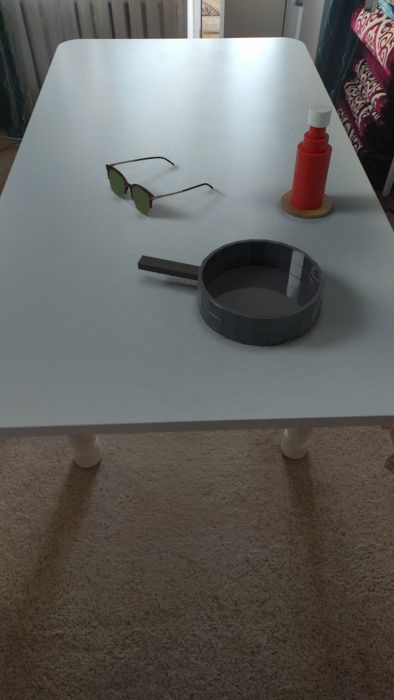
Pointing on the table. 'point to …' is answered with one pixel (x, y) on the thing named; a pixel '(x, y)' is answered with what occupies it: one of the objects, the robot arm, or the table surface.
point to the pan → (259, 291)
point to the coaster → (301, 213)
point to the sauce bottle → (312, 160)
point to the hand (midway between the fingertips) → (333, 8)
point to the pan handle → (168, 267)
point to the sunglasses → (137, 187)
